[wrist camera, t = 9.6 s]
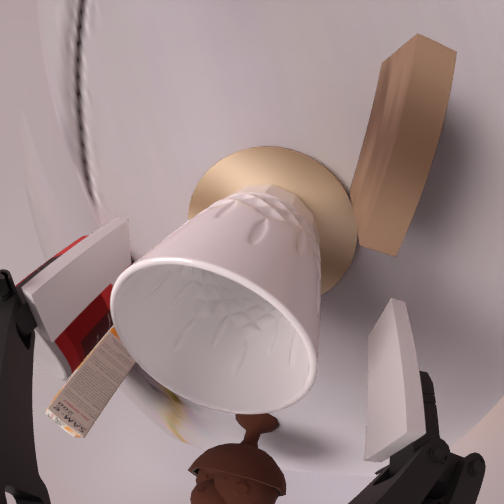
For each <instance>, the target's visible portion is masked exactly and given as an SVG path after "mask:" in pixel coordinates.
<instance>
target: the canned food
mask: <svg viewBox="0 0 504 504" xmlns="http://www.w3.org/2000/svg"><path fill="white" fill-rule="evenodd" d="M87 236H89V235H87ZM87 236H83V237H81V238H80V239H78V240H76V241H75V242H74V243H72V244H71V245H69V246H68V247H66V248H65V249H63V250H62V251H61V252H59V253H58V254H56V255H55V256H54V257H56V256H58V255H61V254H62V255H63V254H64V253H65V252H67V251H68V250H69V249H71V248H72V247H73V246H75V245H76V244H77V243H79V242H80V241H82V240H83V239H84V238H86V237H87ZM54 257H52V258H54ZM52 258H51V259H52ZM48 261H49V260H48ZM48 261H47V262H48ZM44 264H45V263H44ZM44 264H43V266H44ZM132 264H133V263H132V262H131V265H132ZM131 265H130V266H131ZM40 267H41V266H40ZM40 267H39V268H40ZM128 267H129V266H128ZM128 267H127V268H128ZM39 268H38V269H39ZM127 268H126V269H127ZM38 269H37V270H38ZM126 269H125V270H126ZM125 270H124V271H125ZM35 271H36V270H35ZM35 271H34V272H35ZM124 271H123V272H124ZM34 272H32V273H34ZM32 273H31V274H32ZM31 274H30V275H31ZM121 274H122V273H121ZM121 274H120V275H121ZM30 275H28V276H27V277H29V276H30ZM120 275H119V276H120ZM119 276H118V277H119ZM27 277H26V278H27ZM118 277H117V278H116V279H115V280H114V281H113V282H111V283H110V284H109V285H108V286H107V287H106V288H105V289H104V290H103V291H102V292H101V293H100V294H99V295H98V296H97V297H96V298H95V299H94V300H93V301H92V302H91V303H90V304H89V305H88V306H87V307H86V308H85V309H84V310H83V311H82V312H81V313H80V314H79V315H78V316H77V317H76V318H75V319H74V320H73V321H72V322H71V323H70V324H69V326H68V327H67V328H66V329H65V330H64V331H63V332H62V333H61V334H60V335H59V336H58V337H57V338H56V339H55V341H54V342H53V343H52V342H50V341H49V340H47V339H46V338H45V337H43V336H42V335H41V333H40V330H39V328H38V326H37V327H36V328H35V329H34V331H35V346H34V358H33V360H34V361H35V362H36V363H37V364H38V365H39V366H40V367H42V368H43V369H44V370H45V371H47V372H48V373H49V374H51V375H52V376H54V377H56V378H58V379H60V380H67V378H68V377H69V376H71V375H72V373H73V372H74V371H75V370H76V369H77V368H78V366H79V365H80V364H81V363H82V362H83V360H84V359H85V358H86V357H87V355H88V354H89V353H90V352H91V351H92V349H93V348H94V347H95V346H96V345H97V343H98V342H99V341H100V340H101V339H102V337H103V336H104V335H105V334H106V333H107V331H108V330H109V329H110V328H111V327H112V326H113V321H112V317H111V311H110V297H111V292H112V289H113V286H114V284H115V282H116V280H117V279H118ZM26 278H25V279H26ZM25 279H23V280H22V281H21V282H23V281H24V280H25ZM21 282H20V283H21ZM20 283H18V284H17V285H16V286H18V285H19V284H20ZM16 286H15V287H16Z"/></svg>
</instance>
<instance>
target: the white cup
mask: <svg viewBox="0 0 504 504" xmlns="http://www.w3.org/2000/svg"><path fill="white" fill-rule="evenodd" d="M320 309H321V259H320V249H319V234H318V230H317V226H316V223H315V219H314V215H313V213H312V212H311V211H310V210H309V209H308V208H307V206H306V205H305V204H304V203H303V202H302V201H301V200H300V199H299V197H298V196H297V195H296V194H293V193H291V192H289V191H286V190H284V189H282V188H280V187H277V186H275V185H273V184H263V185H246V186H244V187H242V188H240V189H239V190H237V191H235V192H233V193H231V194H230V195H228V196H226V197H225V198H223V199H221V200H218V201H217V202H215V203H213V204H212V205H211V206H209V207H208V208H206V209H204V210H203V211H202V212H200V213H199V214H197V215H196V216H195V217H193V218H191V219H190V220H188V221H187V222H185V223H184V224H183V225H182V226H180V227H179V228H178V229H176V230H175V231H174V232H172V233H171V234H170V235H169V236H167V237H166V238H165V239H163V240H162V241H161V242H160V243H158V244H157V245H156V246H155V247H153V248H152V249H151V250H149V251H148V252H147V253H146V254H144V255H143V256H142V257H141V258H139V259H138V260H137V261H136V262H134V263H133V264H132V265H131V266H129V267H128V268H127V269H126V270H125V271H124V272H122V274H121V275H120V276H119V277H118V279H117V280H116V282H115V284H114V286H113V289H112V292H111V297H110V311H111V317H112V321H113V324H114V327H115V330H116V332H117V334H118V336H119V338H120V340H121V342H122V344H123V345H124V347H125V348H126V350H127V351H128V353H129V354H130V355H131V357H132V358H133V359H134V360H135V361H136V363H137V364H138V365H139V366H140V367H141V368H142V369H143V370H144V371H145V372H146V373H148V374H149V375H150V376H151V377H152V378H153V379H155V380H156V381H157V382H159V383H160V384H161V385H163V386H164V387H166V388H167V389H169V390H170V391H172V392H174V393H175V394H177V395H179V396H181V397H183V398H185V399H187V400H189V401H191V402H194V403H196V404H199V405H201V406H204V407H207V408H211V409H214V410H218V411H223V412H228V413H235V414H264V413H270V412H275V411H278V410H281V409H284V408H287V407H289V406H291V405H293V404H294V403H296V402H298V401H299V400H300V399H302V398H303V397H304V396H305V395H306V394H307V393H308V391H309V390H310V388H311V387H312V385H313V383H314V381H315V378H316V374H317V364H318V348H319V330H320Z"/></svg>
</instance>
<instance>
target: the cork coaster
mask: <svg viewBox="0 0 504 504" xmlns="http://www.w3.org/2000/svg"><path fill="white" fill-rule="evenodd" d="M263 184H273V185H275V186H277V187H280V188H282V189H284V190H286V191H289V192H291V193H293V194H296V195H297V196H298V197H299V199H300V200H301V201H302V202H303V203H304V204H305V205H306V206H307V208H308V209H309V210H310V211H311V212H312V213H313V215H314V219H315V223H316V226H317V230H318V234H319V249H320V259H321V295H323V294H324V293H326V292H327V291H329V290H330V289H331V288H332V287H334V286H335V285H336V284H337V283H338V282H339V281H340V279H341V278H342V277H343V276H344V274H345V273H346V271H347V270H348V268H349V266H350V264H351V262H352V259H353V256H354V253H355V250H356V244H357V227H356V222H355V217H354V212H353V207H352V203H351V201H350V198H349V196H348V194H347V192H346V191H345V189H344V188H343V186H342V184H341V183H340V182H339V180H338V179H337V178H336V177H335V176H334V175H333V174H332V173H331V172H330V171H329V170H328V169H327V168H326V167H325V166H323V165H322V164H321V163H319V162H318V161H316V160H315V159H313V158H311V157H309V156H307V155H305V154H303V153H300V152H297V151H294V150H291V149H287V148H282V147H272V146H262V147H253V148H249V149H245V150H241V151H239V152H236V153H234V154H231V155H229V156H227V157H226V158H224V159H222V160H221V161H219V162H218V163H216V164H215V165H214V166H213V167H211V168H210V169H209V170H208V171H207V172H206V174H205V175H204V176H203V177H202V178H201V180H200V181H199V183H198V185H197V186H196V188H195V191H194V193H193V195H192V198H191V202H190V206H189V212H188V220H190V219H191V218H193V217H195V216H196V215H197V214H199V213H200V212H202V211H203V210H204V209H206V208H208V207H209V206H211V205H212V204H213V203H215V202H217V201H218V200H221V199H223V198H225V197H226V196H228V195H230V194H231V193H233V192H235V191H237V190H239V189H240V188H242V187H244V186H246V185H263Z"/></svg>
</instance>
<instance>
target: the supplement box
mask: <svg viewBox="0 0 504 504" xmlns="http://www.w3.org/2000/svg"><path fill="white" fill-rule="evenodd" d="M135 363H136V361H135V360H134V359H133V358H132V357H131V355H130V354H129V353H128V351H127V350H126V348H125V347H124V345H123V344H122V342H121V340H120V338H119V336H118V334H117V332H116V330H115V328H112V329H111V330H110V331H109V332H108V333H107V335H106V336H105V337H104V338H103V339H102V340H101V341H100V343H99V344H98V345H97V346H96V347H95V348H94V349H93V350H92V352H91V353H90V354H89V355H88V356H87V357H86V358H85V360H84V361H83V362H82V363H81V364H80V365H79V367H78V368H77V369H76V370H75V371H74V373H73V374H72V375H71V376H70V378H69V379H68V380H67V381H66V383H65V384H64V385H63V387H62V388H61V389H60V391H59V392H58V393H57V395H56V396H55V397H54V399H53V400H52V402H51V403H50V405H49V406H48V408H47V410H46V415H47V416H48V417H50V419H52V420H53V421H54V422H55V423H56V424H57V425H59V426H60V427H61V428H62V429H64V430H65V431H66V432H67V433H69V434H70V435H72V436H73V437H80V438H85V436H86V435H87V433H88V432H89V430H90V429H91V427H92V426H93V424H94V422H95V421H96V420H97V418H98V417H99V415H100V414H101V412H102V411H103V409H104V408H105V406H106V405H107V403H108V402H109V400H110V399H111V397H112V396H113V394H114V393H115V391H116V390H117V388H118V387H119V386H120V384H121V383H122V381H123V380H124V378H125V377H126V376H127V374H128V373H129V371H130V370H131V368H132V367H133V366H134V364H135Z"/></svg>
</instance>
